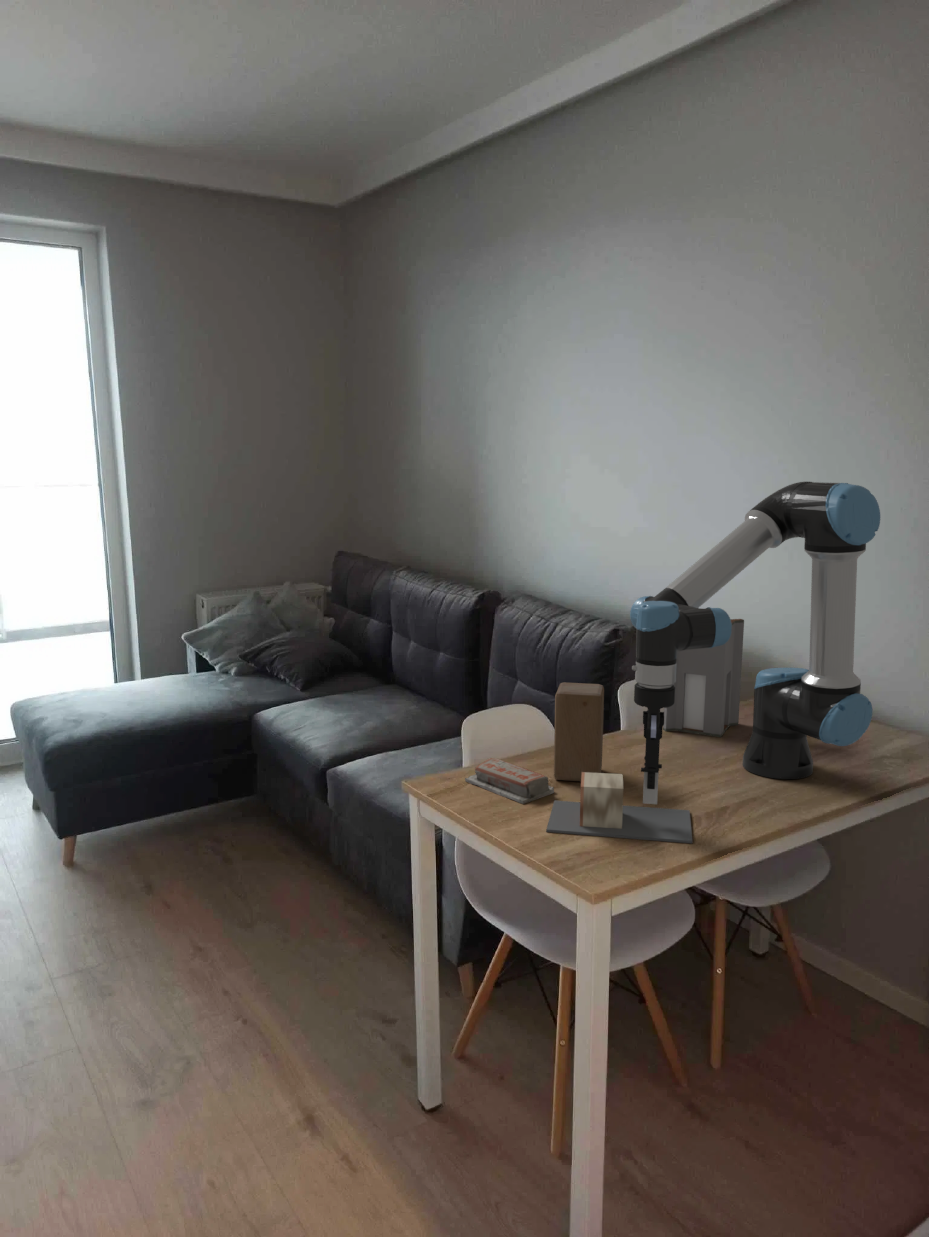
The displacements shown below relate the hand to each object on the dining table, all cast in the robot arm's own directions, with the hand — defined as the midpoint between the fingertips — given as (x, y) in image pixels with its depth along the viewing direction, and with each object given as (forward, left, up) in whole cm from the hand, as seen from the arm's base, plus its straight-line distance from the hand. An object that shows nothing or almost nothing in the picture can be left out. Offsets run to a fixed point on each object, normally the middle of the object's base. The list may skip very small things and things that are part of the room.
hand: (650, 802), depth 182 cm
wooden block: (+16, -25, -5) cm, 30 cm away
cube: (+5, 0, 0) cm, 5 cm away
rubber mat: (+6, 0, -5) cm, 7 cm away
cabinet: (-15, -63, -5) cm, 65 cm away
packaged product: (+30, -15, -5) cm, 34 cm away
